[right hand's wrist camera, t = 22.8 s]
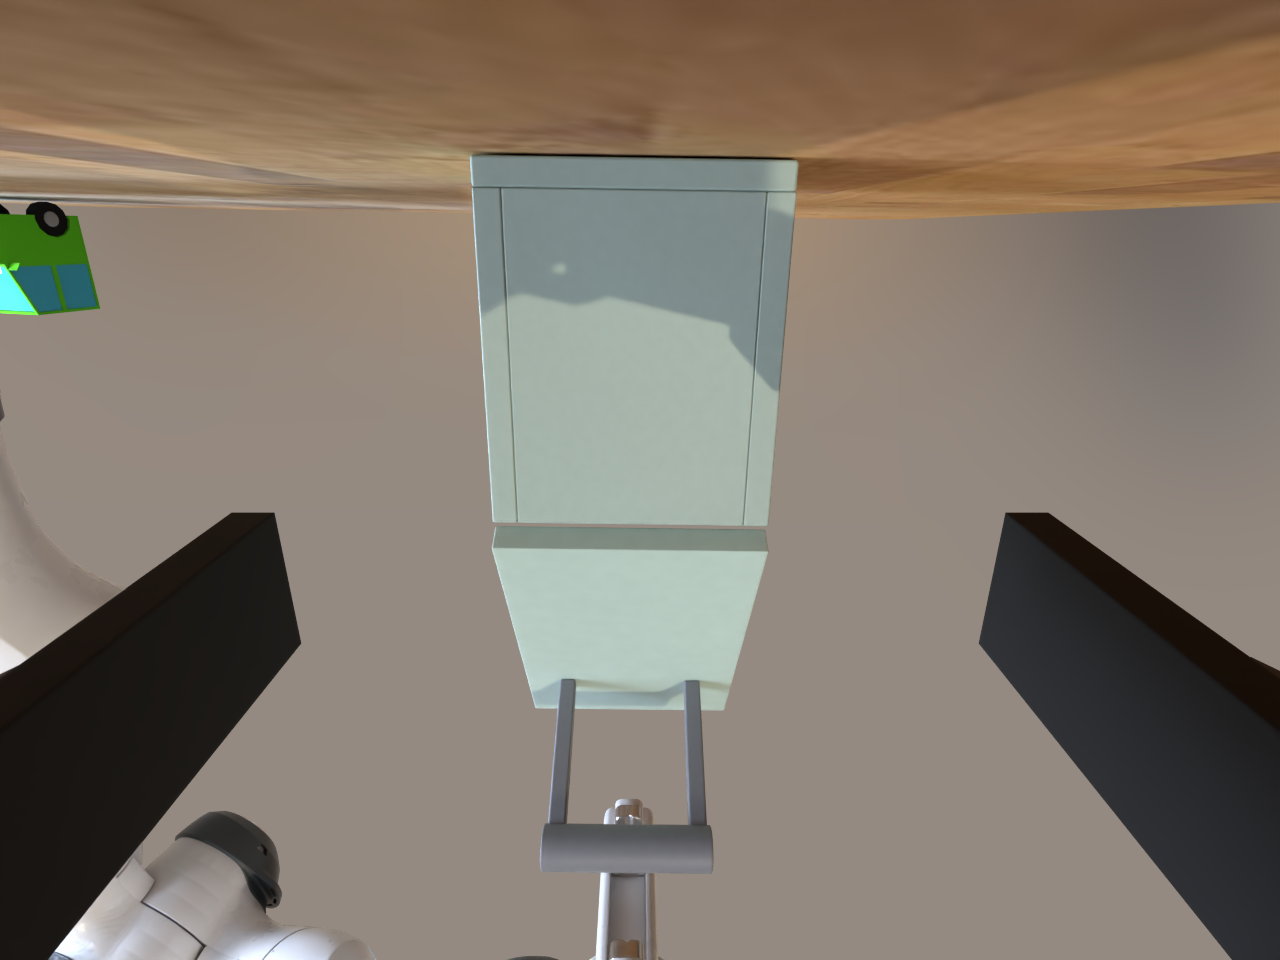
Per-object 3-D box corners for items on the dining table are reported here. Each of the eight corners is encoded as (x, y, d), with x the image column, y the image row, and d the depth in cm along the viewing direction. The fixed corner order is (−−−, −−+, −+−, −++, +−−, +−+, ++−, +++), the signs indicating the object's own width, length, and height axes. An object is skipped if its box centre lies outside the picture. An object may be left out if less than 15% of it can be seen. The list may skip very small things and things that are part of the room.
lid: (722, 692, 34) (736, 888, 29) (537, 689, 34) (516, 886, 29) (765, 529, 24) (801, 794, 18) (495, 525, 24) (449, 790, 18)
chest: (736, 187, 32) (723, 422, 36) (536, 184, 32) (544, 419, 36) (799, 159, 19) (768, 526, 23) (468, 154, 19) (492, 523, 23)
